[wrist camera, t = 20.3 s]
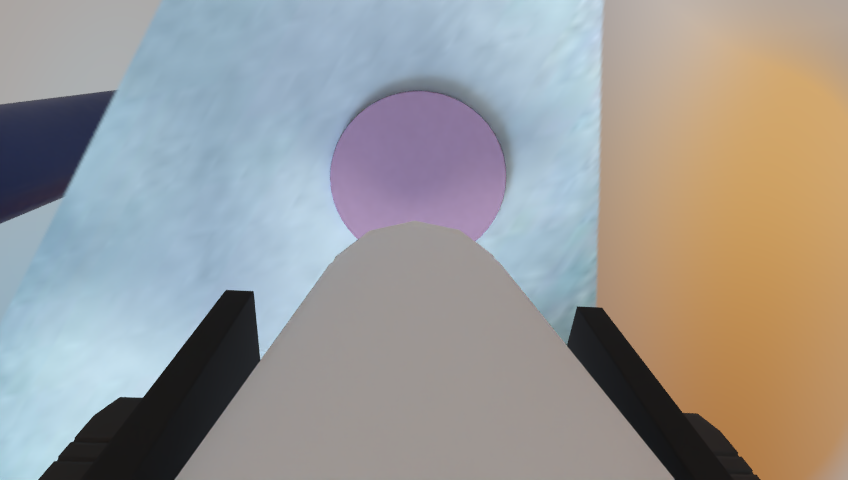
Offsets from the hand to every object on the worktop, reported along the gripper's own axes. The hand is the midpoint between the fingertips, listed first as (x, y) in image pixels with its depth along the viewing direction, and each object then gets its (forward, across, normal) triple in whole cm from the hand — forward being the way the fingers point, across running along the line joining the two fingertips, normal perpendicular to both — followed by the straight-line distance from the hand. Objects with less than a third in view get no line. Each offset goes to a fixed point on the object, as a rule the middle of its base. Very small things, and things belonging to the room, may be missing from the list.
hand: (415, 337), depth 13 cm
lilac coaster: (+16, 0, 0) cm, 16 cm away
